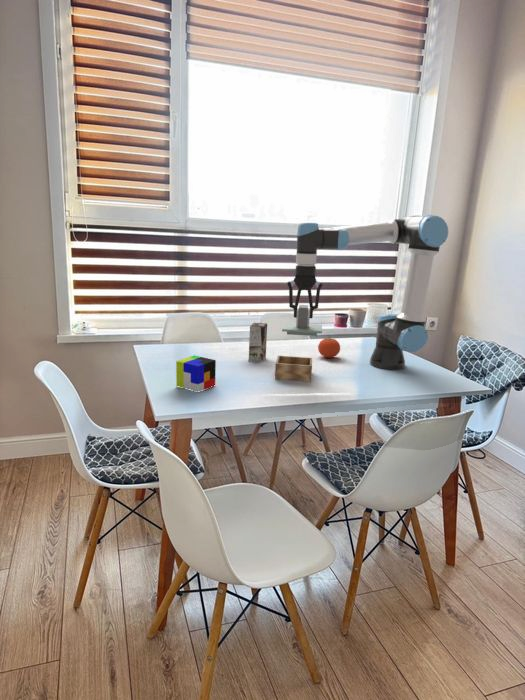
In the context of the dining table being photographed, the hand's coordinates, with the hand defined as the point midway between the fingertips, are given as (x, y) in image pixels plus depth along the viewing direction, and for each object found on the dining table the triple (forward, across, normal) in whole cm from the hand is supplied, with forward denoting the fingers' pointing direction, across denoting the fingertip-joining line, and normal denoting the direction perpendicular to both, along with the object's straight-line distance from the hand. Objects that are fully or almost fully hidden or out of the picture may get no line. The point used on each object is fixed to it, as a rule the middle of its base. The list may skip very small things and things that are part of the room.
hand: (302, 326), depth 182 cm
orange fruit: (+22, -12, -34) cm, 42 cm away
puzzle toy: (+21, +38, +20) cm, 47 cm away
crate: (+21, +3, 0) cm, 21 cm away
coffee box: (+21, +20, -22) cm, 36 cm away
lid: (+3, 0, 0) cm, 3 cm away
